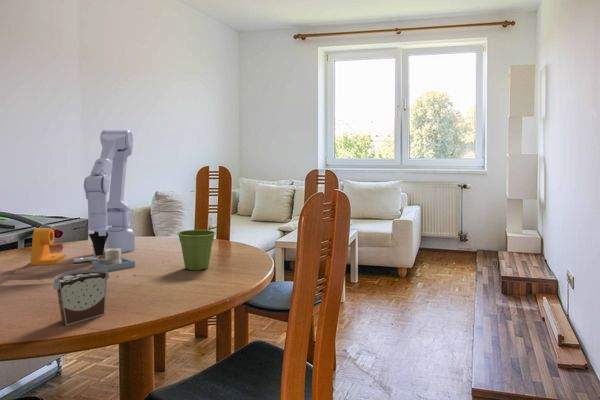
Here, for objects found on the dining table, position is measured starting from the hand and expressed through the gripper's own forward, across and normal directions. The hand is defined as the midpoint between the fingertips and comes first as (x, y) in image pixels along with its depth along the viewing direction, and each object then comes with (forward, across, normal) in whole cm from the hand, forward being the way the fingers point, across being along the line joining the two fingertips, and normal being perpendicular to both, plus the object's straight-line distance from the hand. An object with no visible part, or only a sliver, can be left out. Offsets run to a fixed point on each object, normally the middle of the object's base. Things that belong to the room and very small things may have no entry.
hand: (99, 255), depth 168 cm
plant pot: (+3, -21, -25) cm, 33 cm away
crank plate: (+3, -1, +2) cm, 4 cm away
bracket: (+3, +8, +14) cm, 16 cm away
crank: (+2, +2, +3) cm, 4 cm away
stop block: (+2, -12, -2) cm, 12 cm away
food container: (+4, -54, +14) cm, 56 cm away
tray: (+3, -11, -2) cm, 12 cm away
